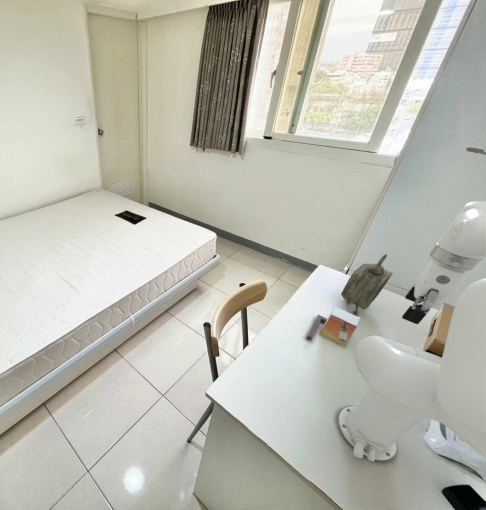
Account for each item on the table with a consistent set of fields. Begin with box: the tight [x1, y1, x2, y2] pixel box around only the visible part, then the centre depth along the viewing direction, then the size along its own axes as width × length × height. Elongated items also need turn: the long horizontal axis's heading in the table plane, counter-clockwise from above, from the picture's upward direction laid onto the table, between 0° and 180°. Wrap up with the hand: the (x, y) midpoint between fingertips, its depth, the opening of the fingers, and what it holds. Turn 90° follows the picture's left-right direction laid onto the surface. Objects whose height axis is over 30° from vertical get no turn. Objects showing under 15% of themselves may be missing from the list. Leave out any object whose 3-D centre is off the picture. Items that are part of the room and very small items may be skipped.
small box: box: [319, 306, 361, 347], centre depth 95 cm, size 8×6×10 cm
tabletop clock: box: [340, 254, 393, 316], centre depth 105 cm, size 14×9×25 cm, turn 126°
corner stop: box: [305, 314, 328, 342], centre depth 98 cm, size 14×11×2 cm
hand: (410, 310), depth 70 cm, fingers open, 9 cm apart
